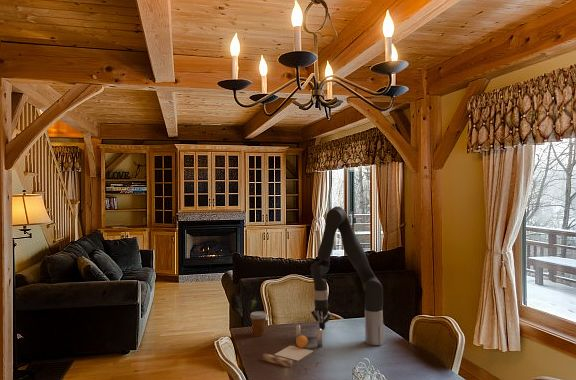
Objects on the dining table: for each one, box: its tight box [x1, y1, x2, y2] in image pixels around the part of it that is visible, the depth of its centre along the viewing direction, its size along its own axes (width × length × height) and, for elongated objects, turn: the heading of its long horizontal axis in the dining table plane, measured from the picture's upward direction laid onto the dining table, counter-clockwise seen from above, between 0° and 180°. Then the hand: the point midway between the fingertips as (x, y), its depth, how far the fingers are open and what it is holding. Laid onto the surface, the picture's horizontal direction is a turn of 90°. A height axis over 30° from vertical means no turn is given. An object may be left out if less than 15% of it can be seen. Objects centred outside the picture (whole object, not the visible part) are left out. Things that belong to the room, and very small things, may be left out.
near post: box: [316, 327, 323, 349], centre depth 210 cm, size 3×3×9 cm
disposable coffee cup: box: [249, 310, 268, 337], centre depth 230 cm, size 10×10×12 cm
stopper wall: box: [262, 353, 294, 368], centre depth 191 cm, size 16×2×2 cm, turn 55°
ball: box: [295, 334, 309, 349], centre depth 209 cm, size 6×6×6 cm
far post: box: [295, 323, 302, 341], centre depth 217 cm, size 3×3×9 cm
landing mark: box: [273, 345, 314, 362], centre depth 202 cm, size 14×14×1 cm
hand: (322, 329), depth 225 cm, fingers closed
